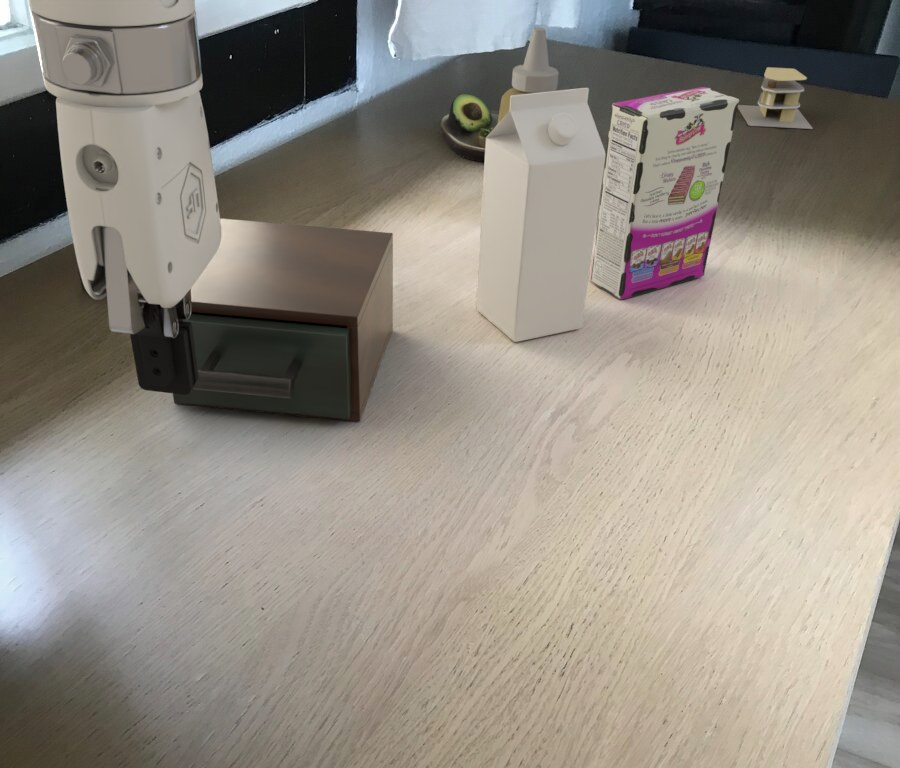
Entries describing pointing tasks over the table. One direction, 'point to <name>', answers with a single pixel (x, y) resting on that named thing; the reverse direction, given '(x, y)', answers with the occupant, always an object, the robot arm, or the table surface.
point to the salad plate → (468, 126)
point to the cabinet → (306, 287)
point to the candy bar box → (661, 189)
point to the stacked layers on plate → (778, 101)
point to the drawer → (271, 365)
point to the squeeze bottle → (531, 72)
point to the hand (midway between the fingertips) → (169, 385)
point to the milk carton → (539, 214)
